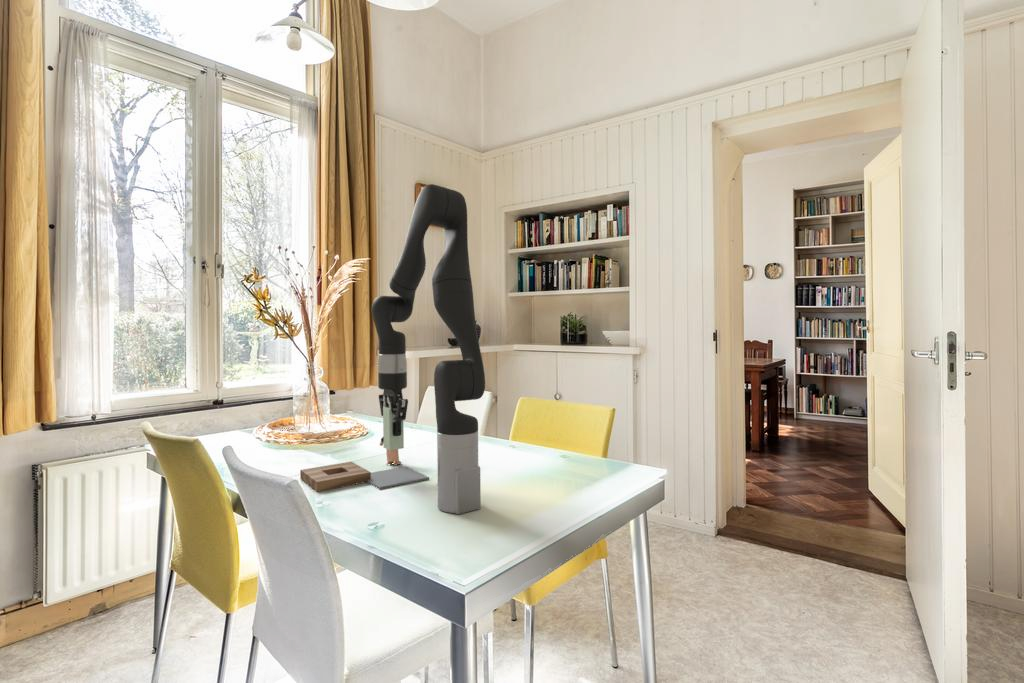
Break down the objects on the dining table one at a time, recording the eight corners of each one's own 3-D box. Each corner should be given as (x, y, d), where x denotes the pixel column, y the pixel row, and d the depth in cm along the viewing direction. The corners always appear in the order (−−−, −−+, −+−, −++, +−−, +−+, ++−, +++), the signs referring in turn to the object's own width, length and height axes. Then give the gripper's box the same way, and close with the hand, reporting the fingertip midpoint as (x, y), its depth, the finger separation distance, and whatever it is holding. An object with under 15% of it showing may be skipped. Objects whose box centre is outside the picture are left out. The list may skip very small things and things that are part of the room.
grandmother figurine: (406, 462, 159) (406, 420, 159) (402, 466, 155) (402, 422, 155) (381, 462, 160) (381, 420, 160) (377, 465, 156) (376, 422, 156)
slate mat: (429, 479, 142) (429, 477, 142) (379, 489, 133) (379, 487, 133) (405, 468, 153) (405, 466, 153) (358, 477, 144) (358, 474, 144)
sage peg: (403, 448, 143) (403, 407, 142) (389, 450, 140) (389, 409, 140) (397, 445, 146) (396, 405, 145) (383, 447, 143) (383, 407, 143)
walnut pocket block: (370, 481, 140) (370, 472, 140) (316, 491, 132) (316, 481, 132) (351, 470, 151) (351, 461, 151) (300, 479, 143) (300, 469, 143)
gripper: (417, 371, 139) (418, 437, 139) (394, 368, 150) (394, 428, 151) (390, 373, 134) (391, 441, 135) (368, 369, 145) (369, 431, 146)
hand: (393, 433), depth 143 cm, fingers closed on sage peg, 4 cm apart
